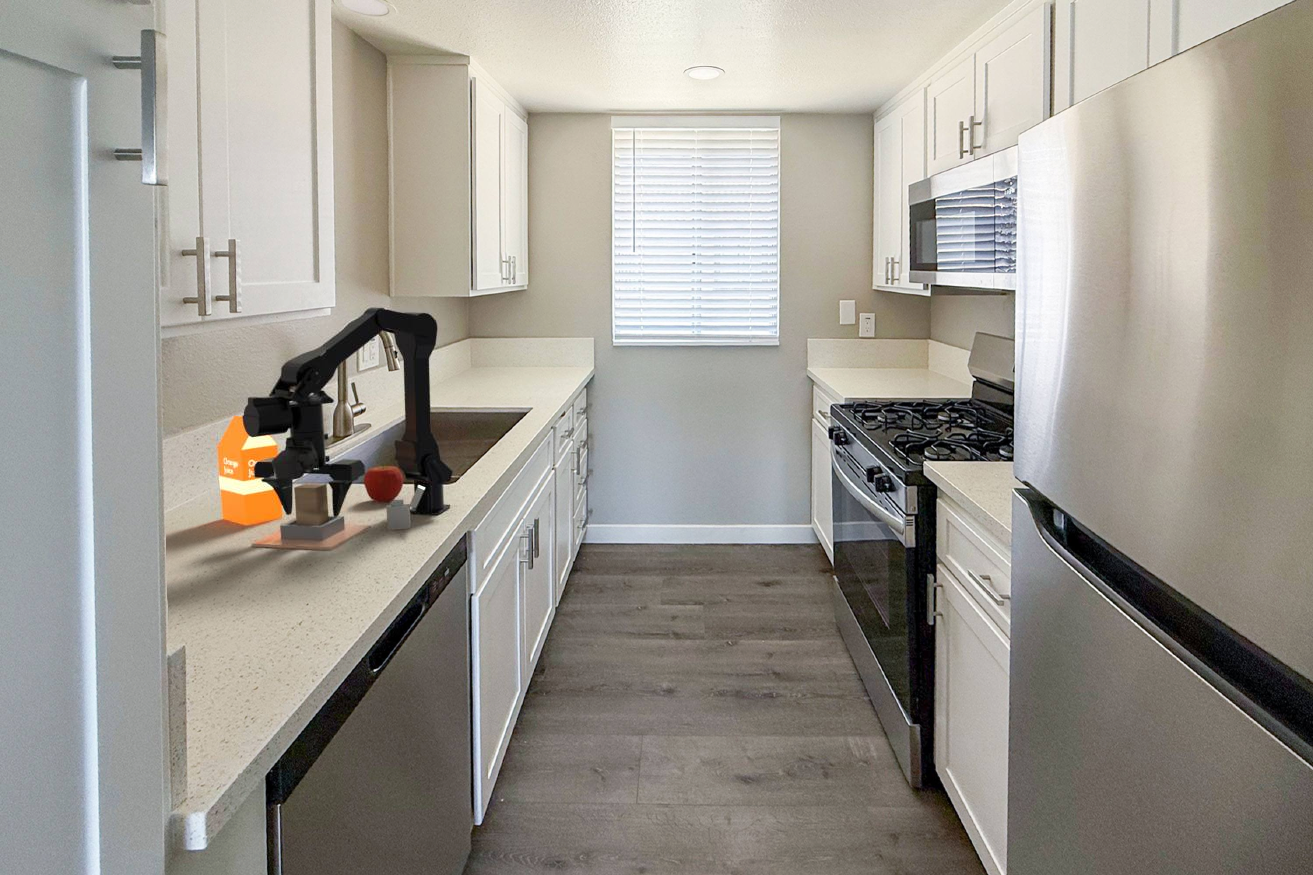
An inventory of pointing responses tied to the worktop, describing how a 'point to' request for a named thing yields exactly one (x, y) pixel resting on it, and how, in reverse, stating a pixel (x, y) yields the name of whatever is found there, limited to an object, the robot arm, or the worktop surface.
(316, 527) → the block holder
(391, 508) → the lighter
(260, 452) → the orange juice
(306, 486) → the wooden block
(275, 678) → the worktop surface
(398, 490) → the apple
